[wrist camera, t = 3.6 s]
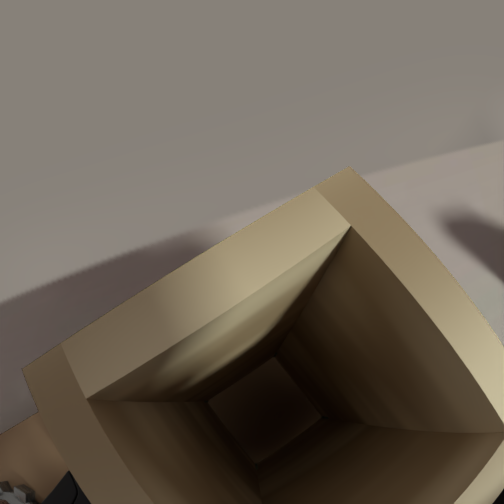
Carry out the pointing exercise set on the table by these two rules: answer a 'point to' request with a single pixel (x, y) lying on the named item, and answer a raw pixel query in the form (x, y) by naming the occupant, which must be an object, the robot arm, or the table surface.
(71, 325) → the table surface
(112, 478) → the open-ended square tube
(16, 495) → the drive gear
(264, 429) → the gear board
